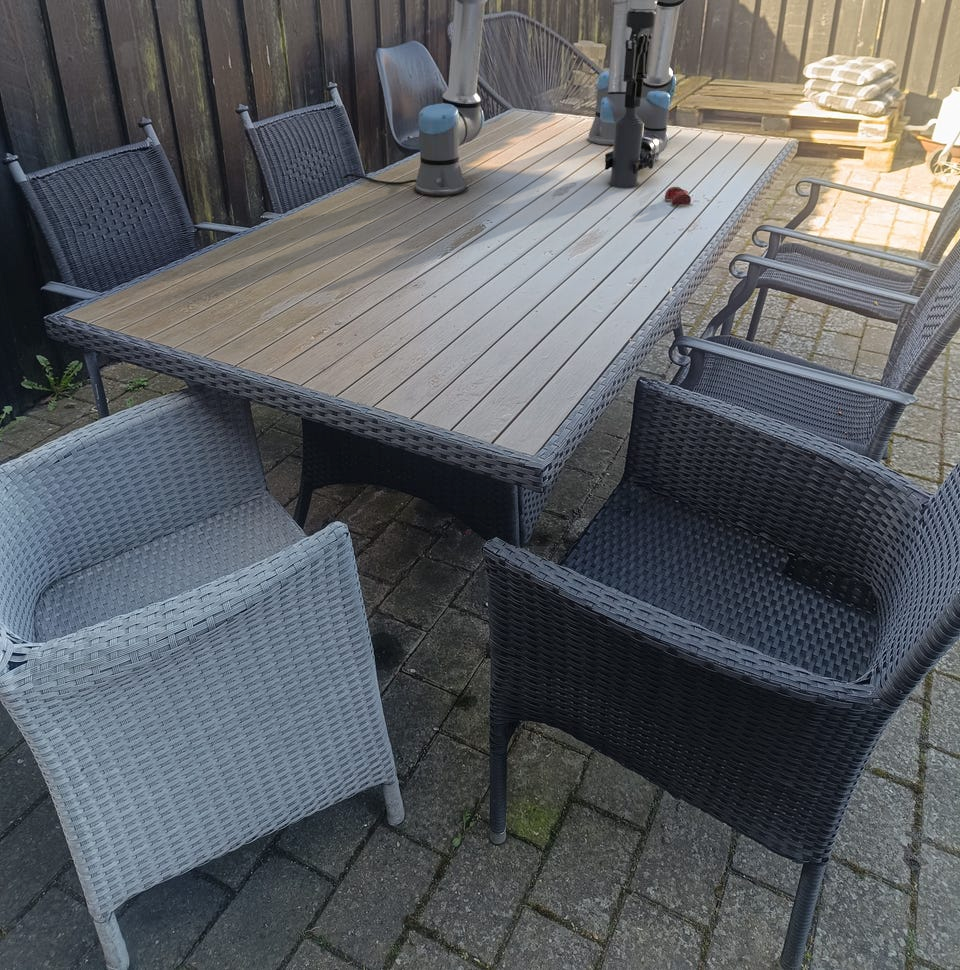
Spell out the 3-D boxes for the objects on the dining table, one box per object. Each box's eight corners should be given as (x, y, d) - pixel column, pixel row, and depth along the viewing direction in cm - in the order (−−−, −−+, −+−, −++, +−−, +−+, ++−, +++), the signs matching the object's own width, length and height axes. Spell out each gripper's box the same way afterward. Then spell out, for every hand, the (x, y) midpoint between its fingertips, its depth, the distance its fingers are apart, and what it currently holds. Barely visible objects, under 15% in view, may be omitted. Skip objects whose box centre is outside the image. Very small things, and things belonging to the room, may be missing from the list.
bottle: (632, 189, 259) (641, 109, 246) (607, 185, 262) (613, 107, 249) (639, 181, 265) (648, 104, 252) (614, 178, 268) (621, 101, 255)
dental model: (681, 182, 249) (693, 190, 243) (680, 196, 252) (692, 205, 246) (664, 184, 248) (675, 192, 242) (662, 199, 251) (674, 207, 245)
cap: (631, 103, 237) (632, 95, 236) (643, 105, 235) (644, 97, 233) (621, 105, 235) (622, 97, 234) (634, 107, 232) (634, 100, 231)
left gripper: (643, 14, 213) (634, 113, 227) (666, 7, 226) (656, 101, 239) (615, 13, 217) (608, 110, 230) (640, 6, 229) (631, 98, 242)
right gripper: (674, 166, 271) (652, 184, 255) (612, 158, 279) (587, 175, 263) (677, 141, 267) (655, 158, 250) (614, 134, 275) (588, 150, 258)
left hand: (632, 105), depth 235 cm, fingers closed on cap, 4 cm apart
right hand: (620, 167), depth 257 cm, fingers closed on bottle, 8 cm apart
